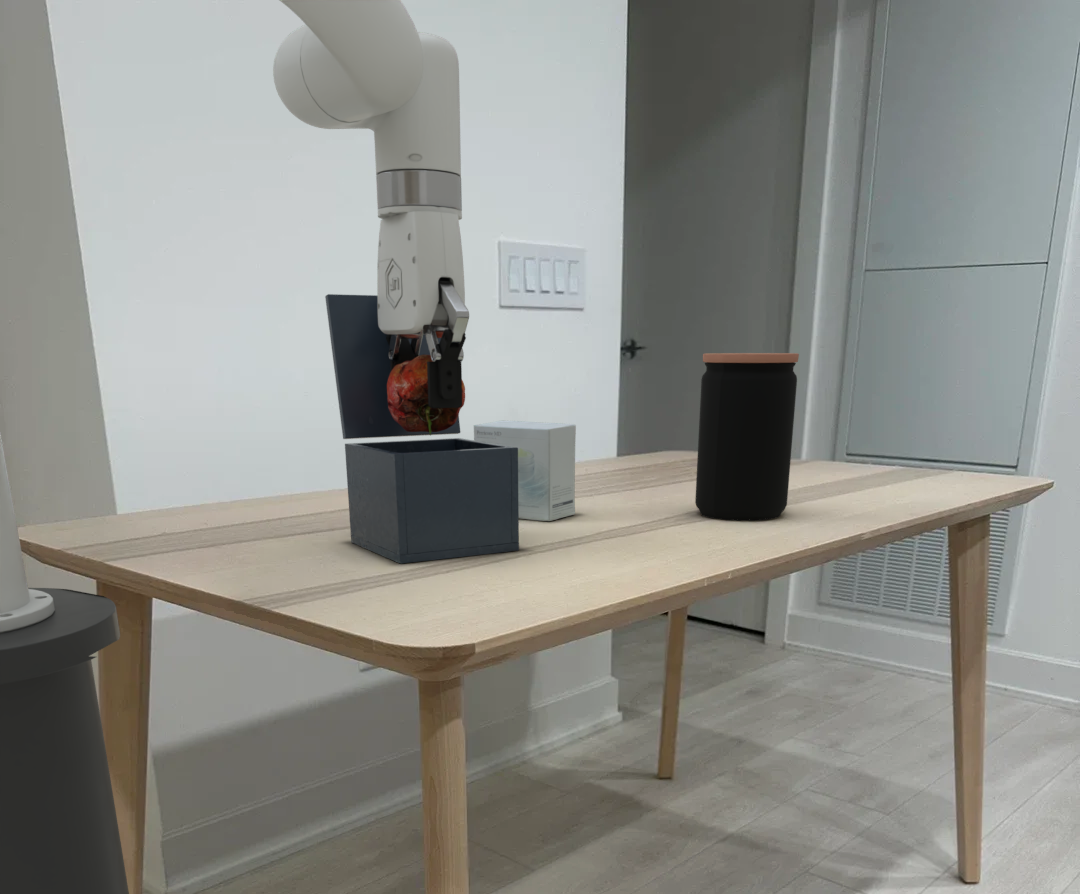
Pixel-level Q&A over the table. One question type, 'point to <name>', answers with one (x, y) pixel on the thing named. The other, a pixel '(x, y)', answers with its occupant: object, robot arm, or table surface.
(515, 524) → the tea tin
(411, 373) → the pomegranate
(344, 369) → the tin lid
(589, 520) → the table surface
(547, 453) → the cosmetics box
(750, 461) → the coffee jar
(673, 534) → the table surface
